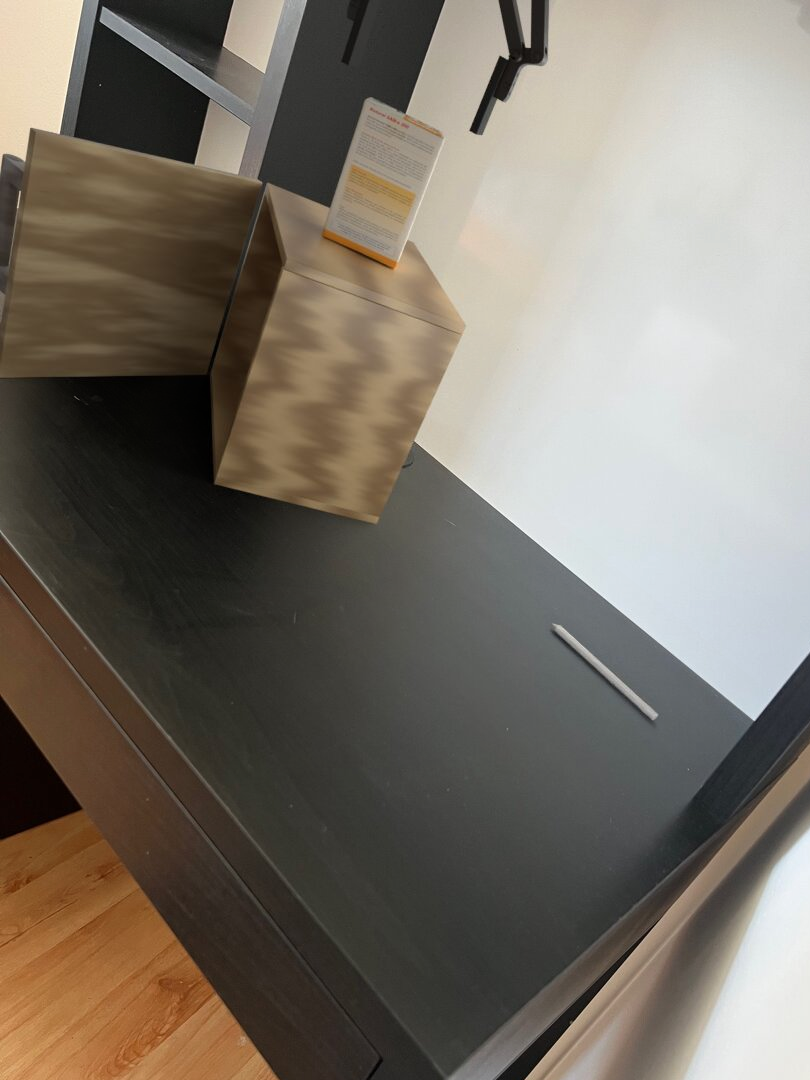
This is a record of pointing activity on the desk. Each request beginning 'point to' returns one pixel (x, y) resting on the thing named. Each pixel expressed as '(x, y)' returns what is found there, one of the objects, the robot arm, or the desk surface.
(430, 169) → the supplement box
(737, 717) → the desk surface
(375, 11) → the robot arm
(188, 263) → the cupboard door
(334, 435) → the cupboard
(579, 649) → the pencil
